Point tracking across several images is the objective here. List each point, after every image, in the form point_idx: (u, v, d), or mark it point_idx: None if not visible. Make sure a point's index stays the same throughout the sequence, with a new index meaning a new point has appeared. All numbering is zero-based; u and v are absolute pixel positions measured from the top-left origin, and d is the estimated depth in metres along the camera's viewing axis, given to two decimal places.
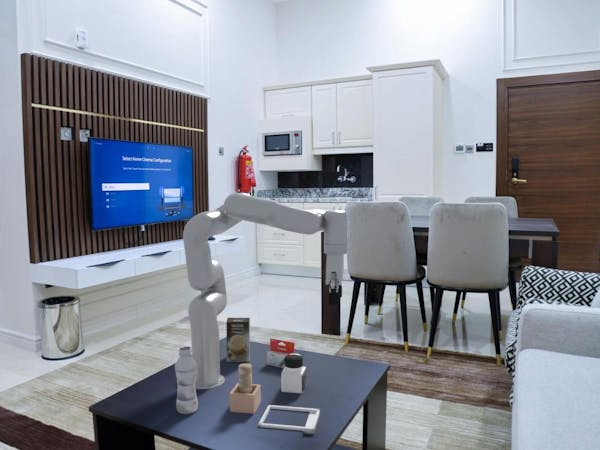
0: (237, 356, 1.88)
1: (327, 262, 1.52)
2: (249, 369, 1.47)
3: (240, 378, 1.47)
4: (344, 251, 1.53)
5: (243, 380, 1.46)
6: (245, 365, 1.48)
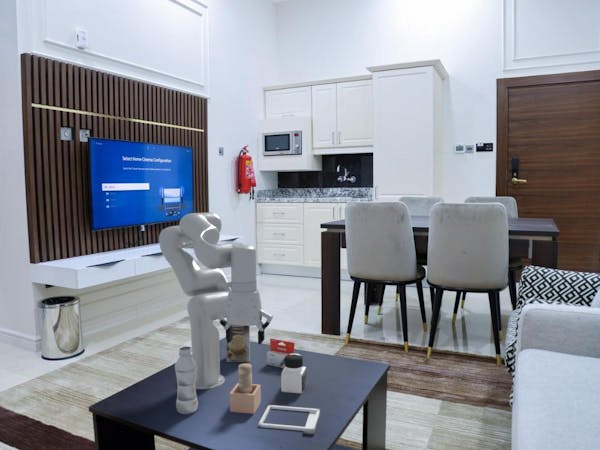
0: (237, 356, 1.88)
1: (256, 301, 1.43)
2: (249, 369, 1.47)
3: (240, 378, 1.47)
4: None
5: (243, 380, 1.46)
6: (245, 365, 1.48)
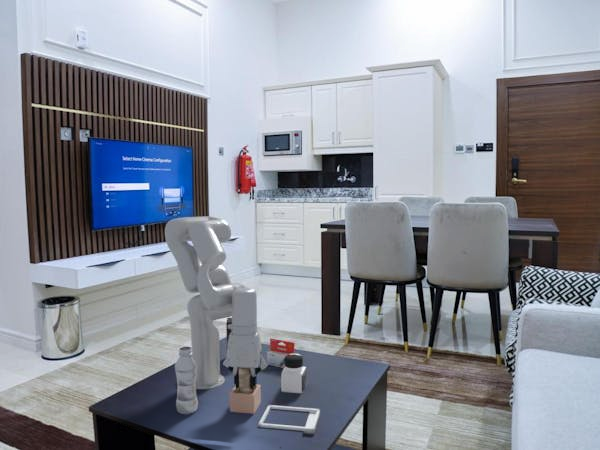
0: None
1: (257, 344, 1.44)
2: (249, 369, 1.47)
3: (240, 378, 1.47)
4: None
5: (243, 380, 1.46)
6: None
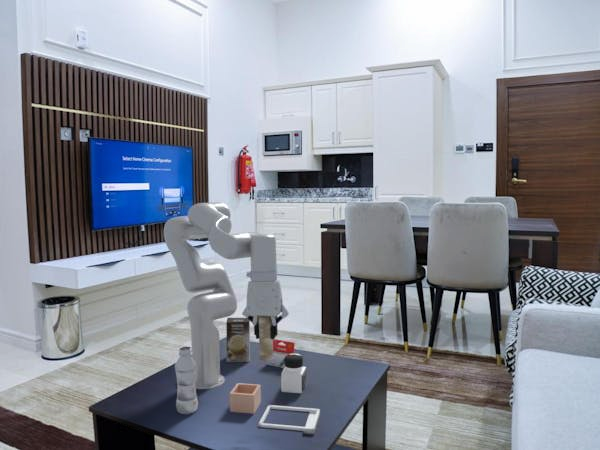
0: (237, 356, 1.88)
1: (277, 291, 1.39)
2: (270, 318, 1.41)
3: (260, 328, 1.41)
4: None
5: (263, 329, 1.41)
6: None
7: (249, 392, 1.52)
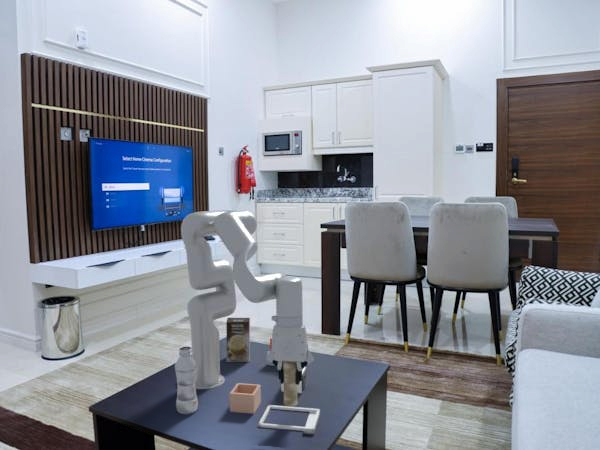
0: (237, 356, 1.88)
1: (303, 336, 1.36)
2: (295, 363, 1.39)
3: (285, 373, 1.39)
4: None
5: (288, 375, 1.38)
6: None
7: (249, 392, 1.52)
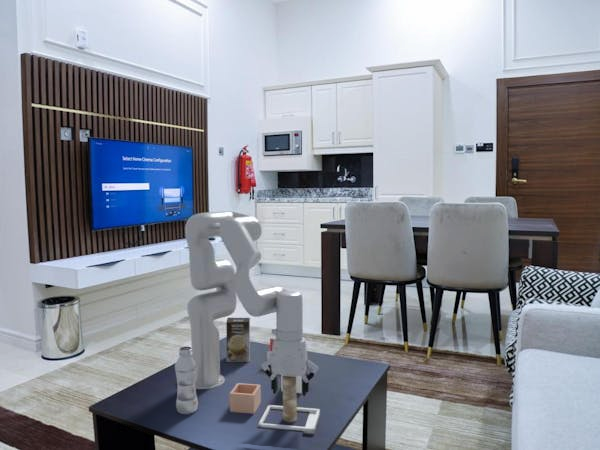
0: (237, 356, 1.88)
1: (303, 350, 1.37)
2: (294, 379, 1.39)
3: (284, 389, 1.39)
4: None
5: (288, 391, 1.39)
6: None
7: (249, 392, 1.52)
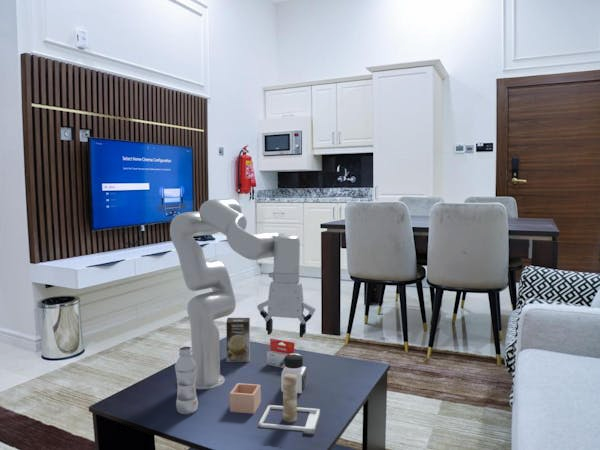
0: (237, 356, 1.88)
1: (299, 293, 1.39)
2: (295, 379, 1.39)
3: (285, 389, 1.39)
4: None
5: (288, 391, 1.39)
6: (290, 375, 1.41)
7: (249, 392, 1.52)
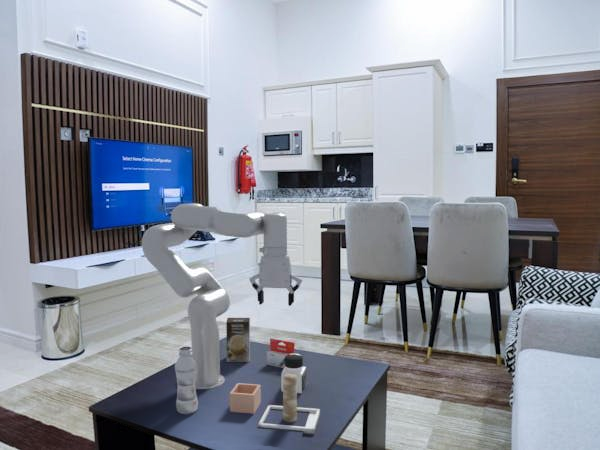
0: (237, 356, 1.88)
1: (287, 265, 1.53)
2: (295, 379, 1.39)
3: (285, 389, 1.39)
4: None
5: (288, 391, 1.39)
6: (290, 375, 1.41)
7: (249, 392, 1.52)
